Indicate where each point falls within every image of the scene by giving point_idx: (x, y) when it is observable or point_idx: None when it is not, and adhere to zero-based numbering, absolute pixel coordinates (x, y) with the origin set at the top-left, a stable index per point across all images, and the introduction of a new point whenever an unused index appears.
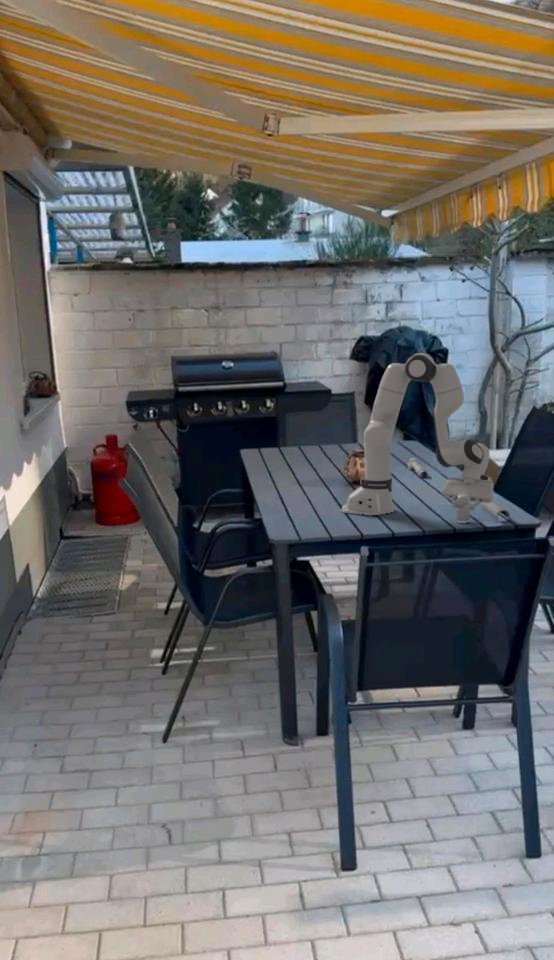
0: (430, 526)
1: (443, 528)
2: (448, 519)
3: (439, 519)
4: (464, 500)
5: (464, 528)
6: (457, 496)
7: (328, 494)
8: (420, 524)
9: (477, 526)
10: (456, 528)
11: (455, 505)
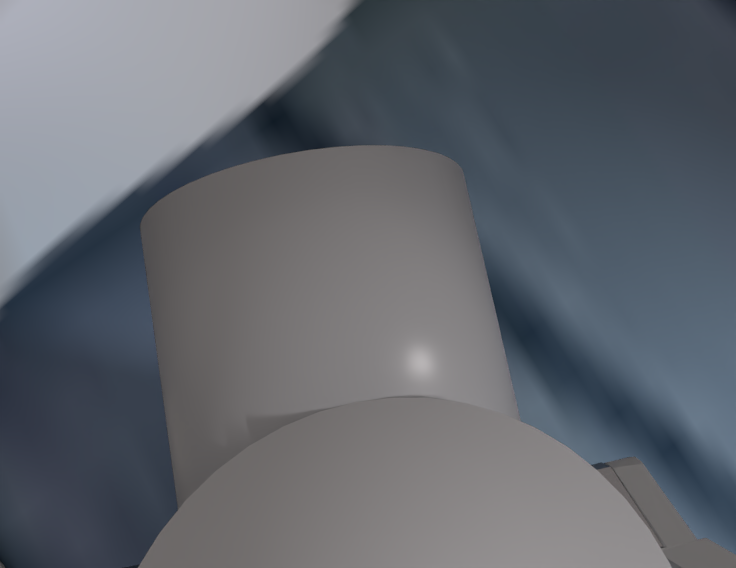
0: (575, 23)
1: (390, 37)
2: None
3: (701, 415)
4: (162, 263)
5: (147, 206)
6: (628, 523)
7: None
8: (726, 30)
9: (20, 434)
10: (244, 138)
11: None
